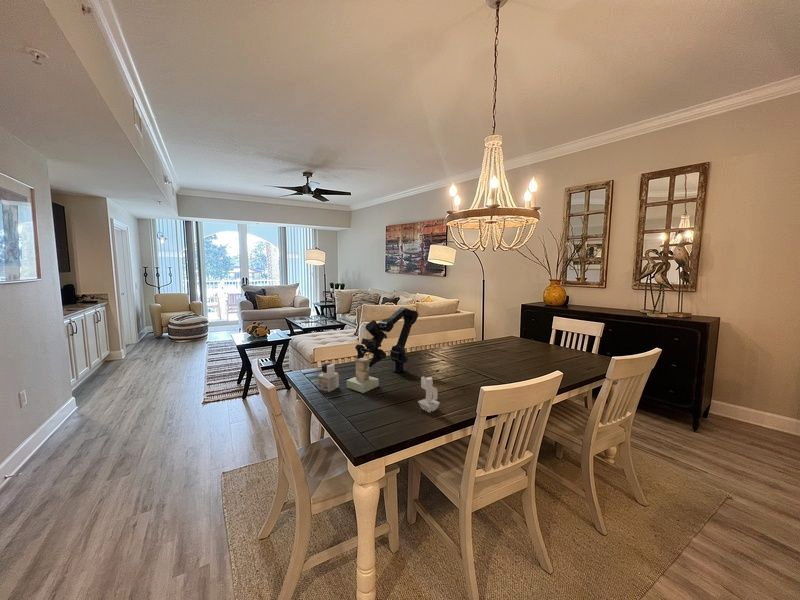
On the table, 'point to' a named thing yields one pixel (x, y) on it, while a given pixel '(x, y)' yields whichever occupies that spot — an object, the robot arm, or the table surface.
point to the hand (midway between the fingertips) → (362, 365)
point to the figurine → (429, 395)
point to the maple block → (362, 369)
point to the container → (328, 378)
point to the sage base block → (362, 384)
